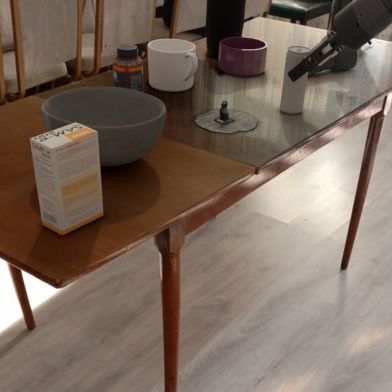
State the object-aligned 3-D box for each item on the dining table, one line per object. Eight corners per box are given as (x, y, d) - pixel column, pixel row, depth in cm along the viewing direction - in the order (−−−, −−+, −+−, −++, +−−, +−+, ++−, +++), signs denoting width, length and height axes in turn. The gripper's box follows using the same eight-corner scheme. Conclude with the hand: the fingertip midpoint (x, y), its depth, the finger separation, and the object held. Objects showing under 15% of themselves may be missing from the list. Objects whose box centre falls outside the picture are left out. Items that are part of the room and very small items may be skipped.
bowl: (178, 180, 104) (180, 120, 97) (54, 192, 99) (47, 129, 92) (150, 133, 118) (150, 78, 112) (40, 141, 113) (33, 84, 107)
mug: (138, 81, 140) (137, 43, 135) (174, 73, 146) (175, 36, 140) (176, 99, 133) (177, 59, 127) (213, 90, 138) (215, 51, 133)
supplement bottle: (148, 103, 130) (148, 45, 123) (134, 112, 126) (133, 52, 119) (123, 98, 132) (121, 40, 124) (109, 107, 128) (106, 47, 120)
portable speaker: (199, 51, 160) (203, -38, 147) (232, 49, 163) (239, -39, 150) (212, 61, 154) (217, -31, 141) (246, 58, 157) (254, -32, 144)
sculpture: (190, 130, 121) (195, 90, 121) (198, 146, 130) (202, 108, 130) (252, 134, 119) (257, 92, 119) (255, 150, 128) (259, 111, 128)
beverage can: (304, 108, 132) (313, 47, 124) (299, 116, 128) (309, 54, 120) (282, 105, 133) (290, 44, 125) (276, 112, 129) (284, 50, 122)
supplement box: (83, 205, 96) (75, 120, 87) (104, 216, 94) (99, 130, 85) (40, 224, 91) (28, 136, 82) (61, 237, 89) (51, 147, 80)
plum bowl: (234, 60, 156) (236, 33, 152) (273, 69, 151) (276, 42, 147) (209, 70, 149) (210, 43, 145) (249, 81, 144) (252, 53, 140)
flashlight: (307, 79, 146) (310, 55, 143) (293, 73, 150) (296, 48, 146) (356, 71, 153) (361, 47, 149) (341, 64, 156) (345, 41, 153)
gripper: (363, -8, 119) (297, 47, 129) (344, 6, 109) (274, 64, 120) (385, 26, 121) (317, 78, 131) (368, 44, 111) (296, 98, 121)
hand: (297, 71), depth 125 cm, fingers open, 8 cm apart
